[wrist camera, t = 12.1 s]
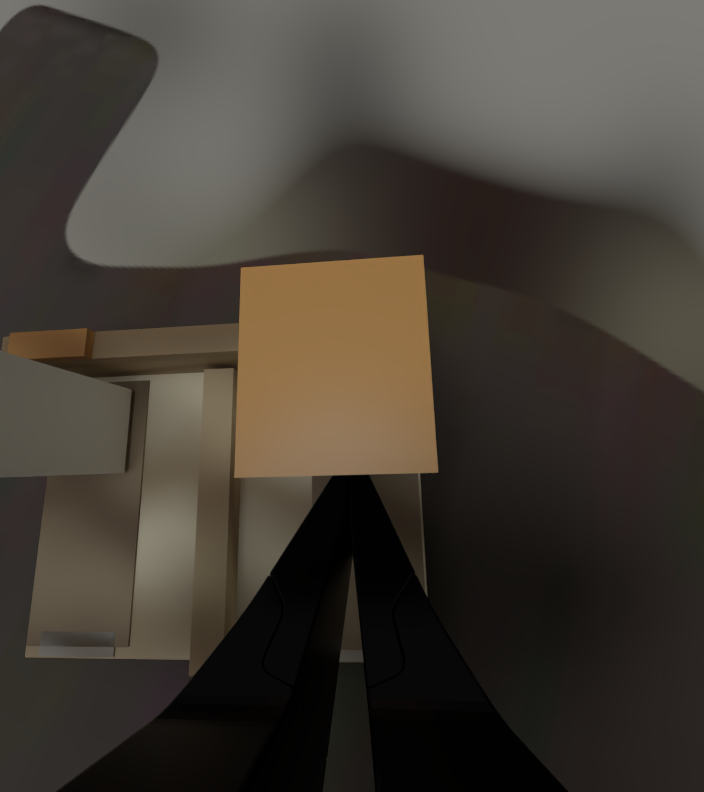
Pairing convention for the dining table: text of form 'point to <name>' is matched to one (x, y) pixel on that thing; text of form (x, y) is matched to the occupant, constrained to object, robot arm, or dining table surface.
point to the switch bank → (172, 507)
